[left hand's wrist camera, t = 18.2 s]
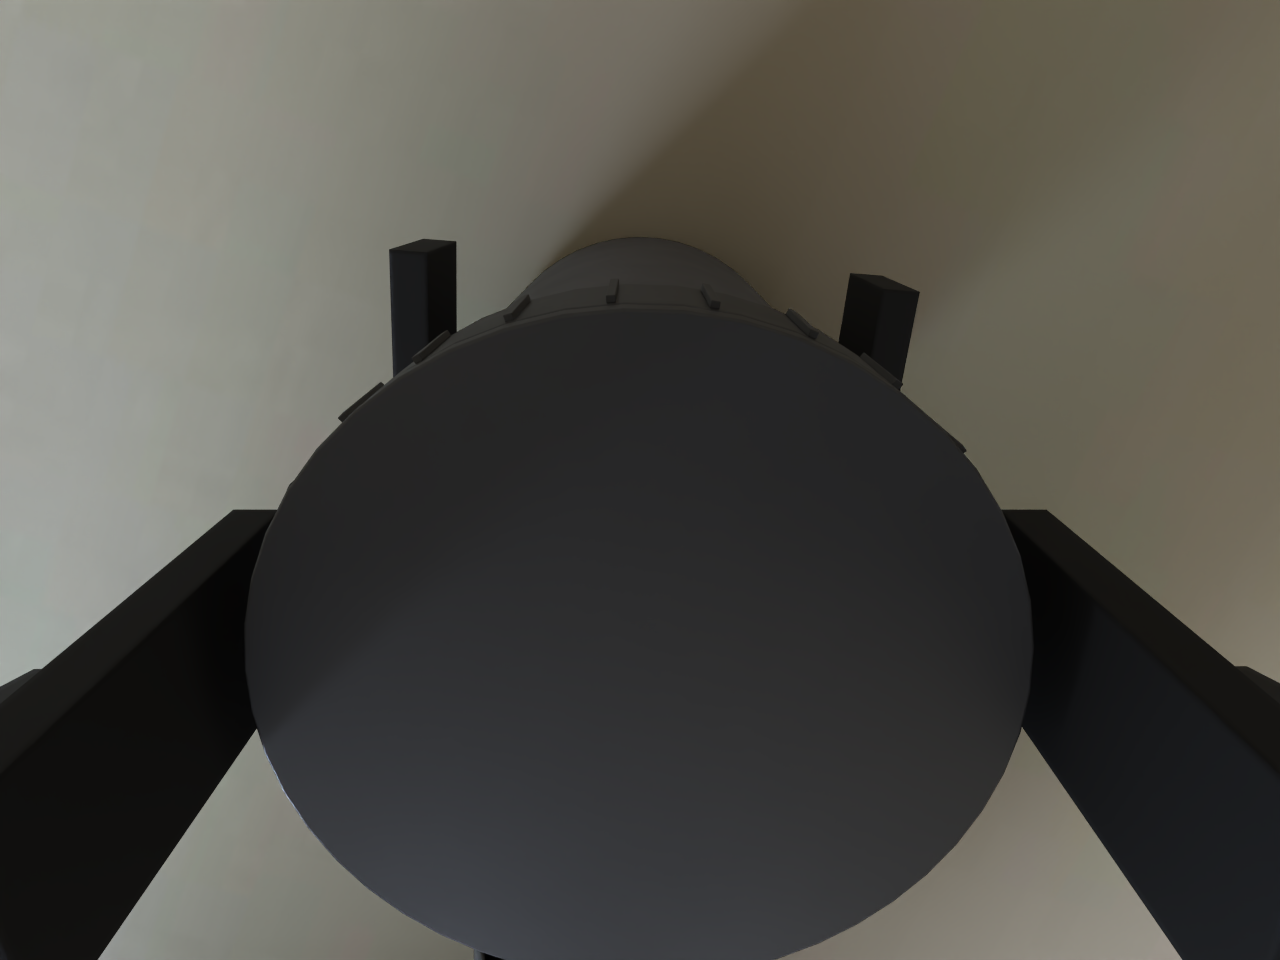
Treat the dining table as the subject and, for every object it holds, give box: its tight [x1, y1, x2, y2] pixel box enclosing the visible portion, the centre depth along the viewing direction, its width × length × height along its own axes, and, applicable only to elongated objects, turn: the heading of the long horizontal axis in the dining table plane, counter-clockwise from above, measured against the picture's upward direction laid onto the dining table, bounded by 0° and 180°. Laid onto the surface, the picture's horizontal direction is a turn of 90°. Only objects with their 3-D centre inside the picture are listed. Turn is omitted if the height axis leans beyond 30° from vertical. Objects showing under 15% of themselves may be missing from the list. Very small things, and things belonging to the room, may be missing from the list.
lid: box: [244, 278, 1034, 960], centre depth 11 cm, size 10×10×2 cm
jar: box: [508, 237, 771, 308], centre depth 18 cm, size 9×9×15 cm
